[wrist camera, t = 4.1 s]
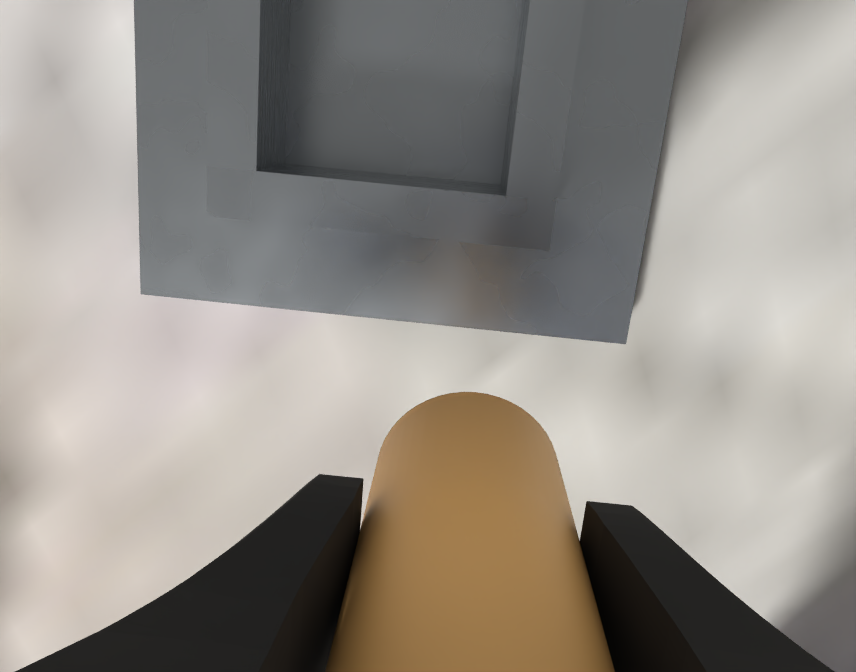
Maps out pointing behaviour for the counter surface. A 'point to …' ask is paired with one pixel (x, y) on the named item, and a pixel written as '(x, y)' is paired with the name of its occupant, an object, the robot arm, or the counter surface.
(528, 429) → the round-ended pin
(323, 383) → the counter surface
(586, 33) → the grey slotted socket block
